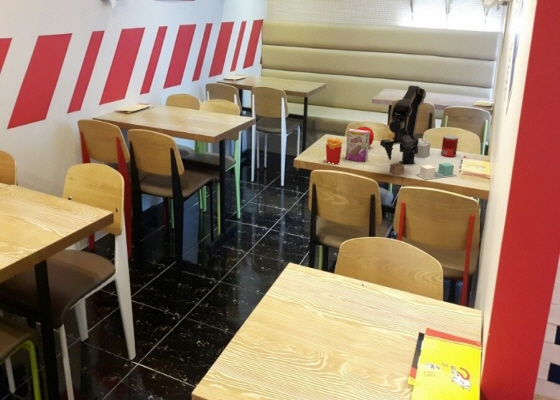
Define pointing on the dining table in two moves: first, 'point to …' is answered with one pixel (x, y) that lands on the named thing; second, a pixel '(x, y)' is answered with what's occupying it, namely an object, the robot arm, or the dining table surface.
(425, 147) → the lumpy-topped squat cylinder
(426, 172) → the block
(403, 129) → the robot arm
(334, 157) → the french fries
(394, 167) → the walnut block
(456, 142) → the canned food
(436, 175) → the slate board
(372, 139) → the tomato
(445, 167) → the teal block
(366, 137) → the candy bar box
